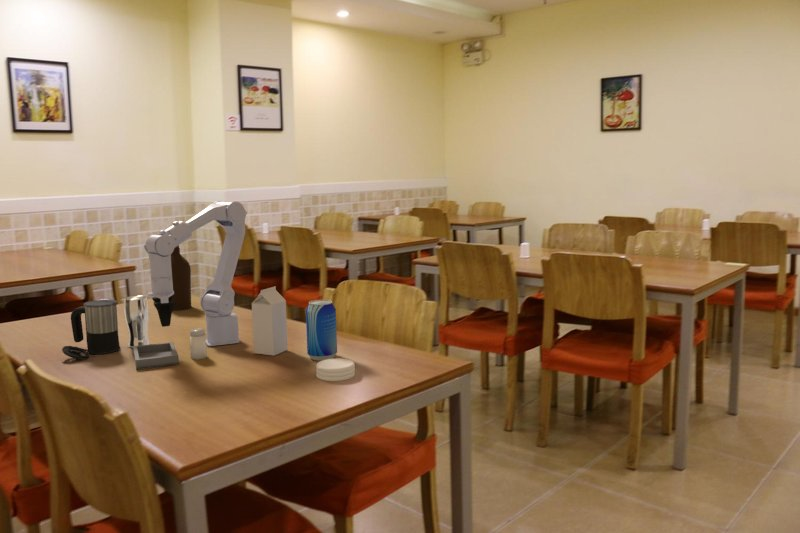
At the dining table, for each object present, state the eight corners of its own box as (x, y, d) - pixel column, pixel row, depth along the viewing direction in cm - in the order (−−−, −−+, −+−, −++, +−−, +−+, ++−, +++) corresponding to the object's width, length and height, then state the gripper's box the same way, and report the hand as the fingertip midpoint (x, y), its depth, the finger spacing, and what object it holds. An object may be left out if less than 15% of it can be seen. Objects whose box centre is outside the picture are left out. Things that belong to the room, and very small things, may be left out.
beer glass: (142, 348, 202) (139, 300, 200) (122, 347, 203) (118, 299, 201) (155, 342, 209) (152, 295, 206) (135, 342, 210) (132, 295, 208)
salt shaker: (205, 354, 195) (204, 327, 194) (207, 358, 191) (206, 330, 190) (190, 356, 193) (188, 329, 192) (191, 360, 189) (190, 332, 188)
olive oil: (187, 304, 269) (184, 242, 265) (196, 308, 260) (192, 244, 257) (161, 307, 263) (156, 244, 259) (169, 311, 254) (164, 246, 251)
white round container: (319, 370, 178) (319, 357, 178) (356, 370, 178) (356, 357, 177) (313, 382, 168) (313, 368, 168) (353, 382, 168) (352, 368, 168)
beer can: (324, 362, 184) (323, 306, 182) (301, 358, 189) (299, 303, 187) (343, 355, 192) (341, 300, 189) (320, 351, 196) (318, 298, 194)
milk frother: (123, 345, 206) (120, 298, 204) (112, 359, 191) (108, 308, 189) (74, 348, 203) (70, 300, 201) (58, 363, 188) (54, 311, 186)
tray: (173, 350, 199) (172, 341, 199) (178, 364, 185) (178, 355, 185) (133, 355, 195) (133, 346, 195) (136, 369, 181) (135, 360, 180)
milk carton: (288, 350, 198) (285, 287, 195) (273, 356, 192) (271, 291, 189) (268, 347, 201) (265, 285, 198) (253, 353, 195) (250, 289, 192)
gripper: (145, 274, 196) (149, 319, 198) (147, 281, 182) (151, 330, 184) (170, 272, 198) (174, 317, 200) (174, 279, 185) (178, 327, 187)
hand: (164, 323), depth 193 cm, fingers open, 7 cm apart
